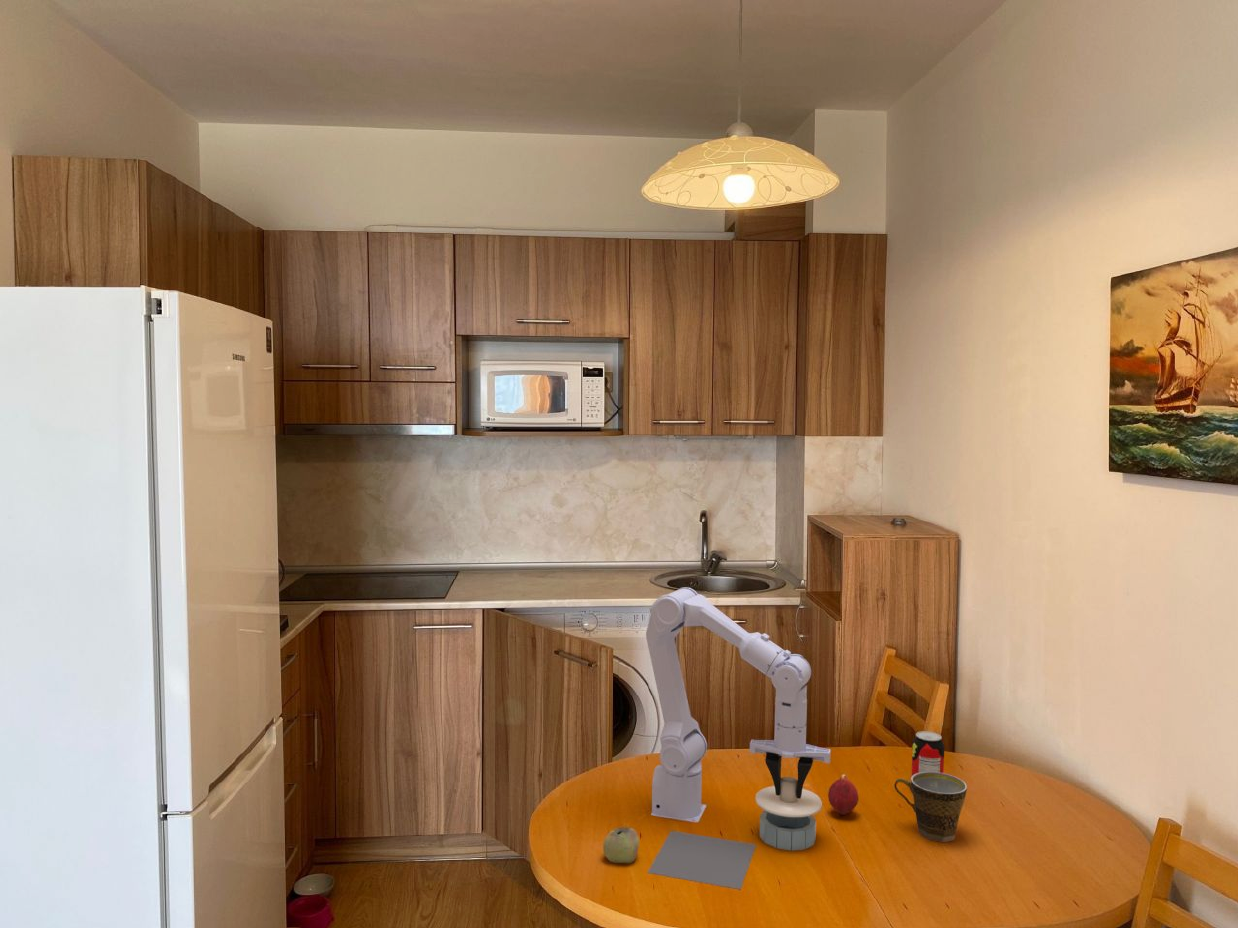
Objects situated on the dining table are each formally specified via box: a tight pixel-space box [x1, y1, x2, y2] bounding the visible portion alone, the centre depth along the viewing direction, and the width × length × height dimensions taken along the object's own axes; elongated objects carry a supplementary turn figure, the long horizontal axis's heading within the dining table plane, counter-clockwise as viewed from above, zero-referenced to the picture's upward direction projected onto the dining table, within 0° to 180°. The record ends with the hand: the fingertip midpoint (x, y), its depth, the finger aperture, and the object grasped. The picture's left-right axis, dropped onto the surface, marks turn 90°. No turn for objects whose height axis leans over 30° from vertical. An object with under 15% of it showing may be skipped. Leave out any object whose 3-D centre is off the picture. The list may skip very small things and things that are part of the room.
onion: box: [827, 773, 859, 816], centre depth 177 cm, size 6×6×8 cm
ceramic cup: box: [893, 772, 968, 843], centre depth 170 cm, size 13×10×10 cm
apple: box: [602, 826, 640, 864], centre depth 158 cm, size 6×8×6 cm
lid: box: [755, 776, 823, 817], centre depth 166 cm, size 12×12×4 cm
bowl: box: [759, 810, 817, 852], centre depth 166 cm, size 10×10×4 cm
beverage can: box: [910, 730, 945, 778], centre depth 188 cm, size 6×6×12 cm
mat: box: [647, 830, 757, 890], centre depth 158 cm, size 16×16×1 cm
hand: (788, 794), depth 166 cm, fingers closed on lid, 3 cm apart
